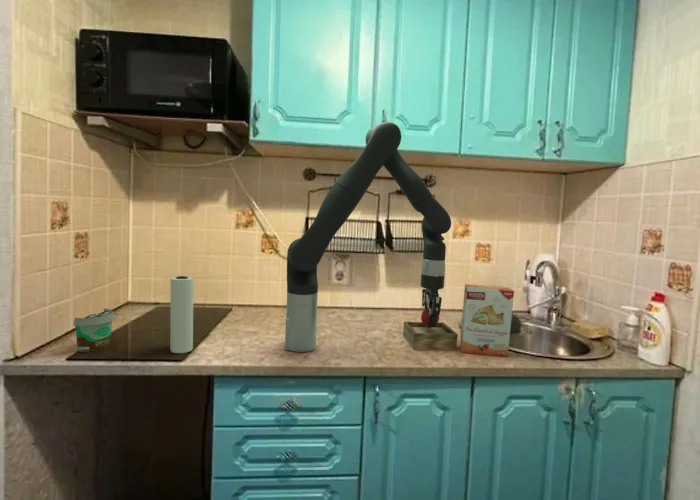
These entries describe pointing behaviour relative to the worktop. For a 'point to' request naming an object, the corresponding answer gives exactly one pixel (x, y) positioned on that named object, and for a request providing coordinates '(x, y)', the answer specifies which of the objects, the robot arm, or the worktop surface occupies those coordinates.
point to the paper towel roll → (181, 314)
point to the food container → (94, 330)
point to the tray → (430, 336)
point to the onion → (427, 317)
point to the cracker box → (486, 320)
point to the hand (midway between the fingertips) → (429, 323)
